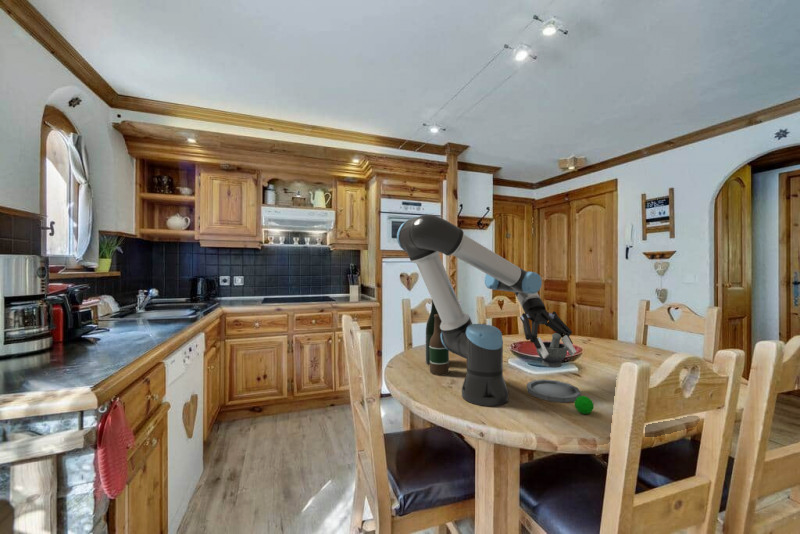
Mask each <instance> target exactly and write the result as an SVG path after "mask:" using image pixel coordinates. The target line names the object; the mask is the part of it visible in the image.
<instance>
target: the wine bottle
mask: <svg viewBox="0 0 800 534" xmlns="http://www.w3.org/2000/svg"><path fill="white" fill-rule="evenodd" d="M435 314H438V312H437V309H436V307H435V305H434V302H433V300H432V299H431V307H430V313H429V315H428V316H429V317H428V319H427V320H426V321H427V322H426V327H425V351H424V352H425V353H424V354H425V355H424V356H425V363H426V364H427V365H428V366H430V353H429V344H430V339H431V337H432V335H433V334H434V322H435V317H434V315H435Z"/></svg>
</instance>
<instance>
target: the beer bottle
mask: <svg viewBox="0 0 800 534" xmlns="http://www.w3.org/2000/svg"><path fill="white" fill-rule="evenodd" d="M434 317H435V322H434V334H433V335H432V337H431V339H430V344H429V353H430V365H429V372H430V374H432V375H434V376H445V375H447V374H448V373H449V372H450V371H449V369H450V365H449V364H450V363H449V362H450V351H449V350H448V349H446V348H445V347H444V345H443V344H442V341H441V332H442V331H441V329H440V324H441V322H442V321H441V319H440V316H439V314H435V315H434Z"/></svg>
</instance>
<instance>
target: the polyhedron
mask: <svg viewBox="0 0 800 534" xmlns="http://www.w3.org/2000/svg"><path fill="white" fill-rule="evenodd" d="M574 407H575V409H576V410H577V412H579V413H580V414H582V415H588V414H591V413H592V411H593V410H594V408H595V405H594V402H593V401H592V399H591V398H590V397H588V396H585V395H581V396H580V397H577V399H576V400H575V401H574Z"/></svg>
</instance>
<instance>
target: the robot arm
mask: <svg viewBox="0 0 800 534" xmlns="http://www.w3.org/2000/svg"><path fill="white" fill-rule="evenodd" d="M396 240H397V243H398V246H399V247H400V249H402V250H403V251H404V252H406V254H407V256H408V259H409V261H410V262H411V263H414V264H416V266H417V268H418V270H419V273H420V275H421V277H422V279H423V282H424V284H425V286H426V289H427V291H428V294H429V295H430V298H431V301H432V300H433V302H434V305H435V307H436V309H437V312H438V314H439V316H440V319H441V321H442V322H441V324H440V329H441V331H442V332H441V341H442V344H443V345H444V347H445V348H446V349H448V350H449V353H452V354H455V355H457V356H459V357H462V358H463V359H465V360H466V375H465V378H464V381H463V384H462V387H461V397H462V399H464V400H465V401H466V402H469V403H471V404H473V405H478V406H482V407H483V406H484V407H485V406H486V407H494V406H501V405H505V404H506V403H507V402H509V390H508V387H507V383H506V381H505V377H504V375H503V369H504V365H503V362H504V361H503V359H504V356H503V353H504V352H503V351H504V350H503V349H504V346H503V345H504V340H503V333H502V331H501V330H500V329H499V328H498V327H496V326H493V325H490V324H485V323H473V321H472V319H471V317H470V315H469V314H468V313H466V312H464V310H463V308H462V306H461V304H460V301H459V298H458V297H457V295H456V292H455V290H454V286H453V285H452V282H451V280H450V278H449V275H448V273H447V271H446V268H445V266H444V263H443V261H442V259H441V256H440V253H441V254H443V255H445V256H447V257H449V256H454V257H455V258H456V259H458V260H461V261H463V262H464V263H466V264H469V265H470V266H471V267H473V268H476V269H477V270H479V271H481V272H483V273H484V274H485V275H484V279H483V280H484V282H483V283H484V285H485V287H486V288H487V289H489V290H493V291H503V292H511V293H514V295H515V296H516V299H517V300H518V302H519V304H520V306H521V307H522V308H521V309H523V312H524V313H522V314H521V316H520V318H519V319H520V320H521V323H522V326H523V333H524V336H525V340H527V341H529V342H530V343H532V344H533V345H534V347H535V349H536V348H537V349H539V351H540V353H541V355H542V357H543V359H544V358H546V357H547V356H548V355H549V353H548V352H547V350H546V348H545V346H544V344H543V342H544V341H543V340H542V338H541V337H538V332H539V325H544V326H546V327H549V328H550V329H551V330H552V331H554V333H558V334H560V335H561V339H560V341H561V342H562V344H564V345H566V346H567V353H568V354H569V356H570V357H573V356H574V355H575V354H576V353H577V350H576V348H575V346H574V342H573V341H572V339H571V337H570V336H571V335H572V333H573V331H572V330H571V329H570V328H569V326H567V325H566V323H565V322H564V321H563V320H562V319H561V318H560V317H559V315H558V314H557V312H556V311H552V312H549V311H548V310H547V309H546V305H545V303H544V302H543V300H542V299H541V296H540V295H539V291H540V290H541V287H542V284H543V282H542V277H541V276H540V274H539V273H537V272H534V271H526V270H524V269H523V268H521V267H519V266H518V265H515V263H513V262H510V261H509V260H507V259H506V258H504V257H502V256H501V255H499V254H497V253H496V252H494V251H493V250H491V249H490V248H488V247H486V246H484V245H482V244H481V243H479V242H478V241H476V240H474V239H473V238H471V237H469V236H467V235H466V234H465V231H464V229H462V228H460V227H459V226H456V225H455V224H453V223H451V222H450V221H448V220H446V219H444V218H442V217H440V216H437V215H434V214H423V215H419V216H417V217H413V218H410V219H407V220H406V221H404V222H403V223H402V224H401V225H400V226H399V228H398V230H397V233H396ZM530 321H531V324H530ZM537 349H536V350H537ZM543 359H542V360H543Z"/></svg>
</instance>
